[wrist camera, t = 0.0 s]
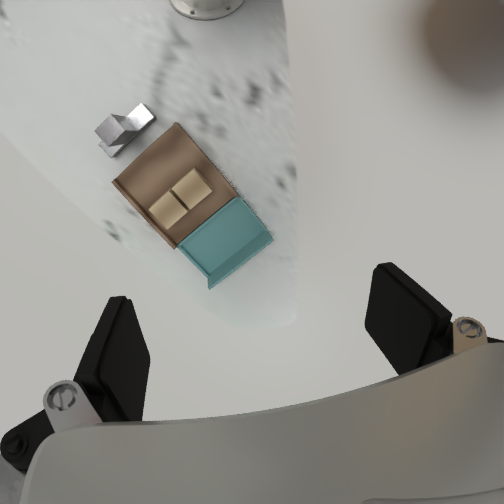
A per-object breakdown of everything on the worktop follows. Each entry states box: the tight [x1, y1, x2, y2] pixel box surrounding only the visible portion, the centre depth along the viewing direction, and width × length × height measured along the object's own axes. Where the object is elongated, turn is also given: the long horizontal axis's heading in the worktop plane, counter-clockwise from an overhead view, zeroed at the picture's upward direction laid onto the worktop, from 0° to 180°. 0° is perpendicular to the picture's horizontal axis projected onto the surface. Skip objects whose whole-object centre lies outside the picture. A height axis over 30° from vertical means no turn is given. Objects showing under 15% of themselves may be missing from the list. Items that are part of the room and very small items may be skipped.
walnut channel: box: [112, 122, 238, 249], centre depth 42 cm, size 14×13×4 cm
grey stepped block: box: [95, 103, 156, 158], centre depth 35 cm, size 3×9×10 cm, turn 127°
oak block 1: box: [149, 186, 188, 229], centre depth 41 cm, size 4×4×4 cm
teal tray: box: [177, 193, 274, 290], centre depth 46 cm, size 8×13×5 cm, turn 127°
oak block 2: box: [172, 167, 212, 209], centre depth 41 cm, size 4×4×4 cm
